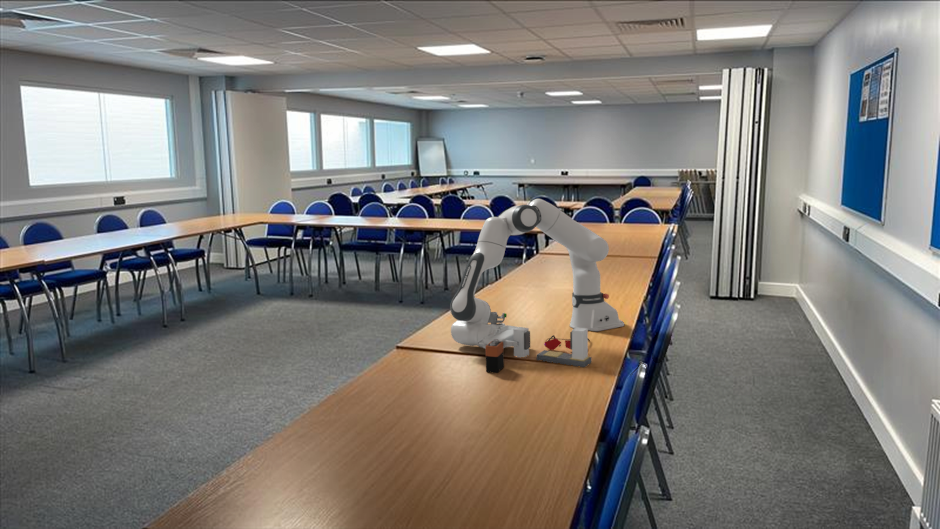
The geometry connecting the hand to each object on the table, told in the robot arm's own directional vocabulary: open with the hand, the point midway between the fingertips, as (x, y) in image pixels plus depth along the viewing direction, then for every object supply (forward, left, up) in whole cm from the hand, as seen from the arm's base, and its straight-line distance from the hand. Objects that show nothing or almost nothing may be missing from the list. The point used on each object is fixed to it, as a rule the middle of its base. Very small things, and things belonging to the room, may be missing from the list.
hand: (523, 341), depth 235 cm
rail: (-10, +11, -6) cm, 16 cm away
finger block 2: (-14, +16, -3) cm, 22 cm away
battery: (+15, +10, -6) cm, 19 cm away
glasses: (-20, -6, -6) cm, 22 cm away
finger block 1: (+1, -1, -6) cm, 6 cm away
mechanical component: (+2, -28, -6) cm, 28 cm away
